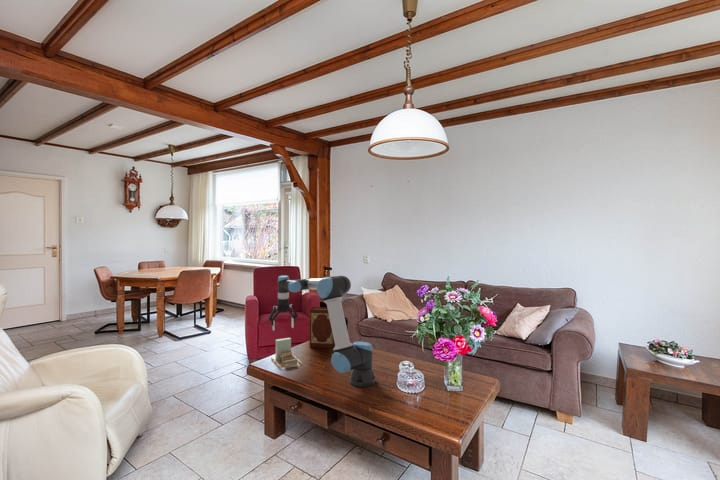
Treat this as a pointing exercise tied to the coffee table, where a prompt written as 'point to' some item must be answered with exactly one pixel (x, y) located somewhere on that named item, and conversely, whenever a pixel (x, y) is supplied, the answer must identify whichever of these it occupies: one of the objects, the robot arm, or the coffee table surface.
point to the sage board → (282, 346)
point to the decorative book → (320, 328)
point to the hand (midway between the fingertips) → (283, 328)
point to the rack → (287, 362)
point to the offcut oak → (285, 354)
